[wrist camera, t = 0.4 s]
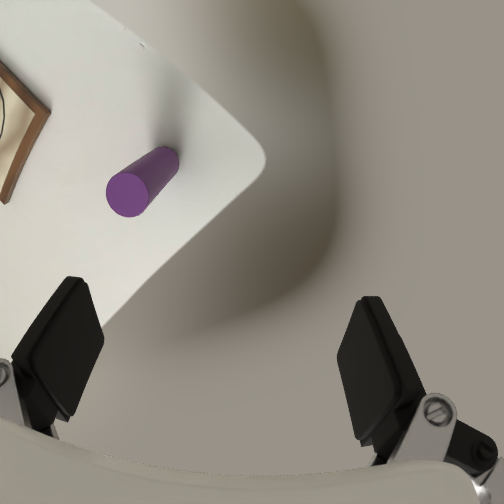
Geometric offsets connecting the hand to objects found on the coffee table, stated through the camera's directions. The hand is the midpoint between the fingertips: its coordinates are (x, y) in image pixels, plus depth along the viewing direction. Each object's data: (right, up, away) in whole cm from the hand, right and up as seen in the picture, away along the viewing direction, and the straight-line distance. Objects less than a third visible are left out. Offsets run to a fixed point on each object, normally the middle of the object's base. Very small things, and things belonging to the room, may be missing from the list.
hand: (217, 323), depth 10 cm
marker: (-7, +11, +17) cm, 22 cm away
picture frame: (-32, +19, +12) cm, 39 cm away
